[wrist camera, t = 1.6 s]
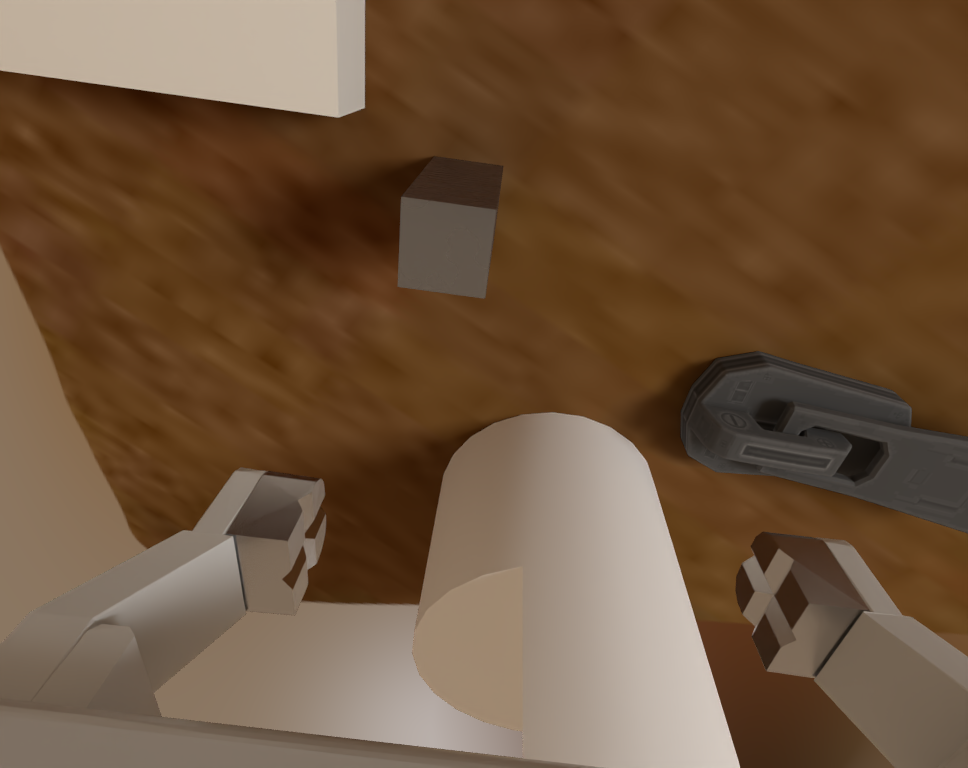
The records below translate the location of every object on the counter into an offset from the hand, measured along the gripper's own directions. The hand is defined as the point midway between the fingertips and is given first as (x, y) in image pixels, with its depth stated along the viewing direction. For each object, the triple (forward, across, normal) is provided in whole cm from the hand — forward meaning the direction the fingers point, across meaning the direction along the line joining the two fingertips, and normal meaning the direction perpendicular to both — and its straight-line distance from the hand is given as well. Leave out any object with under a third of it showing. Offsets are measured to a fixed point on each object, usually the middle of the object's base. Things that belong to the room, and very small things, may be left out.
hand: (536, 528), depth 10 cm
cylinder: (+26, -5, +22) cm, 35 cm away
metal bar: (+26, +4, -1) cm, 26 cm away
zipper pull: (+26, -26, +12) cm, 39 cm away
